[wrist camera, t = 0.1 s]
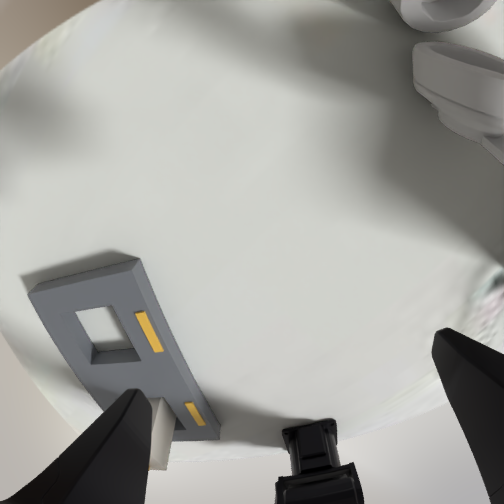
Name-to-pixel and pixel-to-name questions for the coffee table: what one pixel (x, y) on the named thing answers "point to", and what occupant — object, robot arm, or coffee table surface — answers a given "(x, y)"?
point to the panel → (127, 360)
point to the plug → (161, 433)
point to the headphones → (458, 71)
